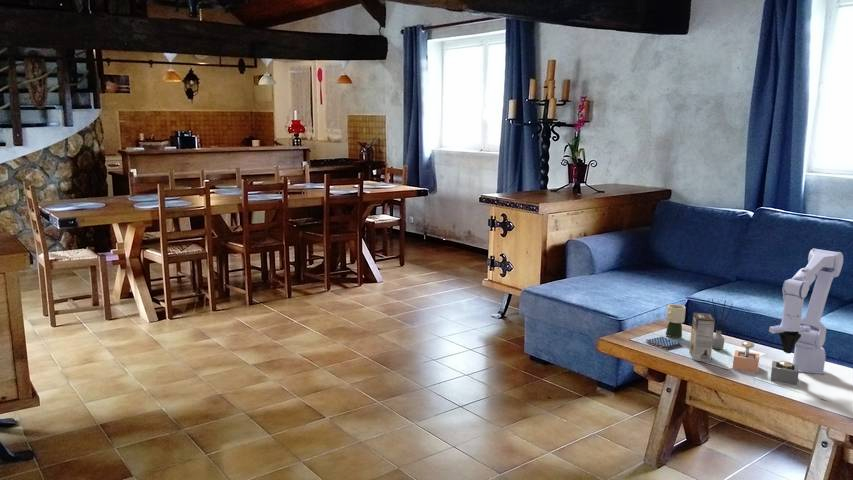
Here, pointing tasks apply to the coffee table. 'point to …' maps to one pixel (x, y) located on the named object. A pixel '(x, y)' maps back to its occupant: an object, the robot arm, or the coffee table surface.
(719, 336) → the reed diffuser
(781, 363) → the beige knobbed plunger
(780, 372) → the dark grey square socket
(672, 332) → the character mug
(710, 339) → the coffee box
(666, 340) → the woven mat
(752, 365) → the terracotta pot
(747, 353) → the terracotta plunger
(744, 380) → the coffee table surface
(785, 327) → the robot arm
